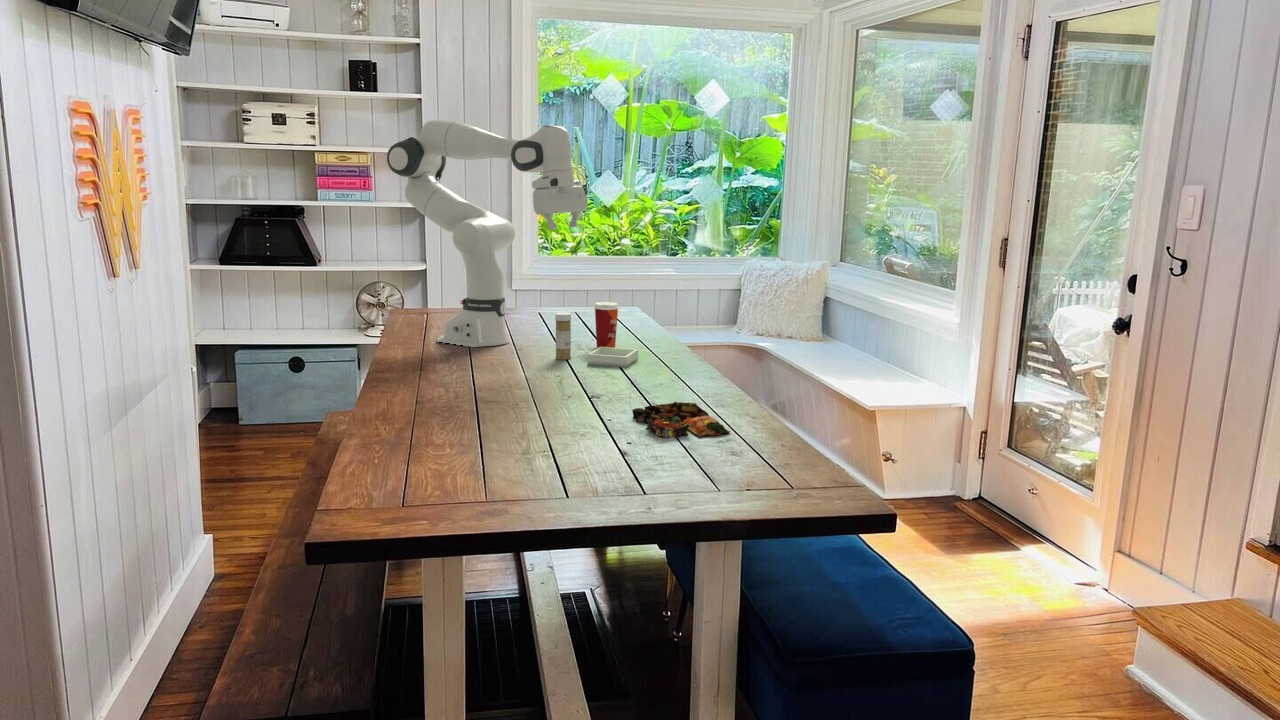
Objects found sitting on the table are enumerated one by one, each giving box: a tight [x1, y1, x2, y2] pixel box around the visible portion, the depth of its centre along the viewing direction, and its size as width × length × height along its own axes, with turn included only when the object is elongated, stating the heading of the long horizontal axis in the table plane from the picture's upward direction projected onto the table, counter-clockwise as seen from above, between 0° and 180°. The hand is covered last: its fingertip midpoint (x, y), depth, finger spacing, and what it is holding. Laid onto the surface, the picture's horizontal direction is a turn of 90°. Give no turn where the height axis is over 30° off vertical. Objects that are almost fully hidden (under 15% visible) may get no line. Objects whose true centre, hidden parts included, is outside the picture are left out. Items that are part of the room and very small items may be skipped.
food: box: [631, 401, 732, 440], centre depth 205 cm, size 22×19×4 cm
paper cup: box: [593, 301, 620, 349], centre depth 284 cm, size 8×8×14 cm
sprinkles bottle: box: [554, 311, 572, 361], centre depth 268 cm, size 5×5×14 cm
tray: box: [587, 347, 639, 368], centre depth 266 cm, size 12×12×3 cm
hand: (563, 228), depth 274 cm, fingers open, 8 cm apart
